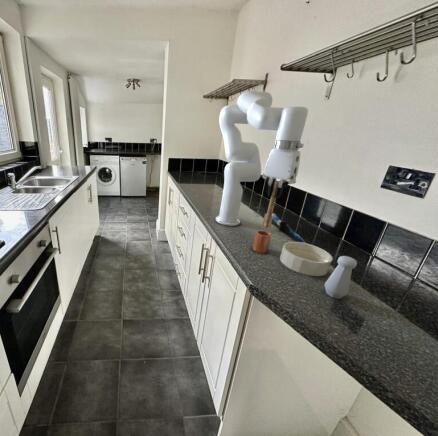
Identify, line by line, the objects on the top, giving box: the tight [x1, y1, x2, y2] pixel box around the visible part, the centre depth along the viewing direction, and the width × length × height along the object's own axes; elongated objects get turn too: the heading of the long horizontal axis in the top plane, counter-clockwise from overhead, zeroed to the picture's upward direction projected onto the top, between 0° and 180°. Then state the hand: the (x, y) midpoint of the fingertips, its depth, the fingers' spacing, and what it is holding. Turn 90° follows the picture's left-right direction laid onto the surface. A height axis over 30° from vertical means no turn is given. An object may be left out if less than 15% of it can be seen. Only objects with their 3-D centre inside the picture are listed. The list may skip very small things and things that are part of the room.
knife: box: [272, 211, 306, 243], centre depth 113 cm, size 31×3×4 cm, turn 178°
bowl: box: [279, 241, 334, 277], centre depth 86 cm, size 15×15×6 cm
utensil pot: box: [252, 229, 272, 253], centre depth 95 cm, size 5×6×8 cm
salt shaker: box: [323, 255, 358, 300], centre depth 70 cm, size 6×6×13 cm
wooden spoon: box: [262, 181, 279, 229], centre depth 89 cm, size 3×2×18 cm, turn 33°
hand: (273, 196), depth 87 cm, fingers closed on wooden spoon, 1 cm apart
